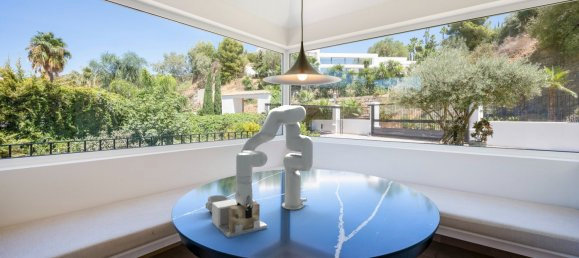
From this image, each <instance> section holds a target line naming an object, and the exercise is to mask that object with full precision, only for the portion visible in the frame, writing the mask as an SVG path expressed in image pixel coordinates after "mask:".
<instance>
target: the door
mask: <svg viewBox="0 0 579 258" xmlns="http://www.w3.org/2000/svg"><path fill="white" fill-rule="evenodd" d="M247 206H249V205H247ZM260 206H261V204H260V203H258V202H257V201H256V202H254V204H253V209H252V218H248V219H246V218H245V210H246V207H245V205H236V206H231V207H229V229H231V230H232V231H234V230H235V225H236V224H240V223H241V224H242V228H247V227H251V226H253V221H254V220H260V211H261V210H260V209H261V208H260Z"/></svg>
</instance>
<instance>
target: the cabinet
mask: <svg viewBox="0 0 579 258" xmlns="http://www.w3.org/2000/svg"><path fill="white" fill-rule="evenodd" d="M252 200H253V202H257V201H256V200H255V199H254V198H253V199H252ZM236 202H237V201H236V200H235V198H232V199H227V200H225V201H219V202H213V203H212V212H211V222H212V224H213V225H214V226H215V227H216V228H217V229H218V225H222V224H227V223H229V207H231V206H236V205H237V203H236Z"/></svg>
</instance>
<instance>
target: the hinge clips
mask: <svg viewBox="0 0 579 258" xmlns="http://www.w3.org/2000/svg"><path fill="white" fill-rule="evenodd" d="M217 229H218V230H219V231H220V232H221V233H222V234H223V235H224V236H226V238H229V239H230V238H233V237H237V236H241V235H245V234H250V233H253V232H257V231H261V230H265V229H268V224H266V223H265V222H264V221H262V220H261V219H259V220H254V221H253V226H251V227H247V228H242V224H241V223H240V224H236V225H235V230H234V231H232V230H231V229H229V223H227V224H222V225H218V228H217Z"/></svg>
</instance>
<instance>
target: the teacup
mask: <svg viewBox="0 0 579 258" xmlns="http://www.w3.org/2000/svg"><path fill="white" fill-rule="evenodd" d="M225 200H229V198H228V197H227V196H226V195H219V194H217V195H211V196H208V197H207V202H206V203H205V208H206V210H208V211H210V213H212V203H213V202H219V201H225Z"/></svg>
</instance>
